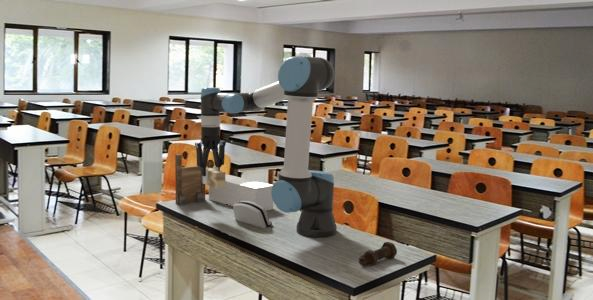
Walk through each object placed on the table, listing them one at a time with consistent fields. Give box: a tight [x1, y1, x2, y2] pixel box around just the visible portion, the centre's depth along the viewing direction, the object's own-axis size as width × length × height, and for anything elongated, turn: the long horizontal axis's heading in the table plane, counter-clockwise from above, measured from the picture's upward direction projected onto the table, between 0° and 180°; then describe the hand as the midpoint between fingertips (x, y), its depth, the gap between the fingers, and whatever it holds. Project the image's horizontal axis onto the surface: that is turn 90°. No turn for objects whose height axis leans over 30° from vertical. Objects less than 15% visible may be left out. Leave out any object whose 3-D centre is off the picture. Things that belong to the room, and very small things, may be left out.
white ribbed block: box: [208, 173, 274, 211], centre depth 244 cm, size 32×11×11 cm, turn 47°
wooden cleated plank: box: [174, 151, 206, 206], centre depth 244 cm, size 4×14×22 cm, turn 130°
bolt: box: [358, 241, 398, 267], centre depth 174 cm, size 6×5×15 cm
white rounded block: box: [232, 201, 274, 229], centre depth 214 cm, size 17×5×10 cm, turn 48°
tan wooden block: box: [201, 167, 226, 188], centre depth 220 cm, size 12×4×6 cm, turn 40°
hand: (210, 183), depth 222 cm, fingers closed on tan wooden block, 4 cm apart
